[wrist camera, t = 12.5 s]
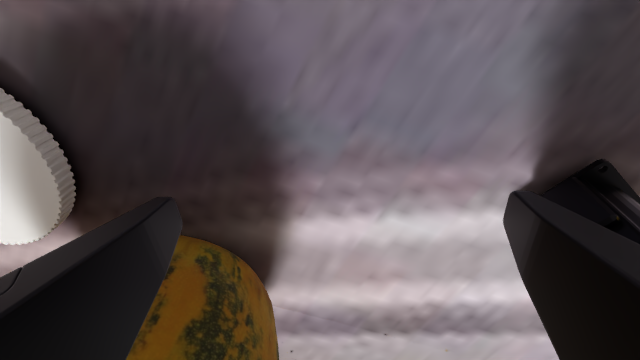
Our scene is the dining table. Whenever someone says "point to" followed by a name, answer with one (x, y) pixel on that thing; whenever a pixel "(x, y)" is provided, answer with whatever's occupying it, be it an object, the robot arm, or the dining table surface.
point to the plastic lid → (30, 176)
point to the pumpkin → (208, 310)
